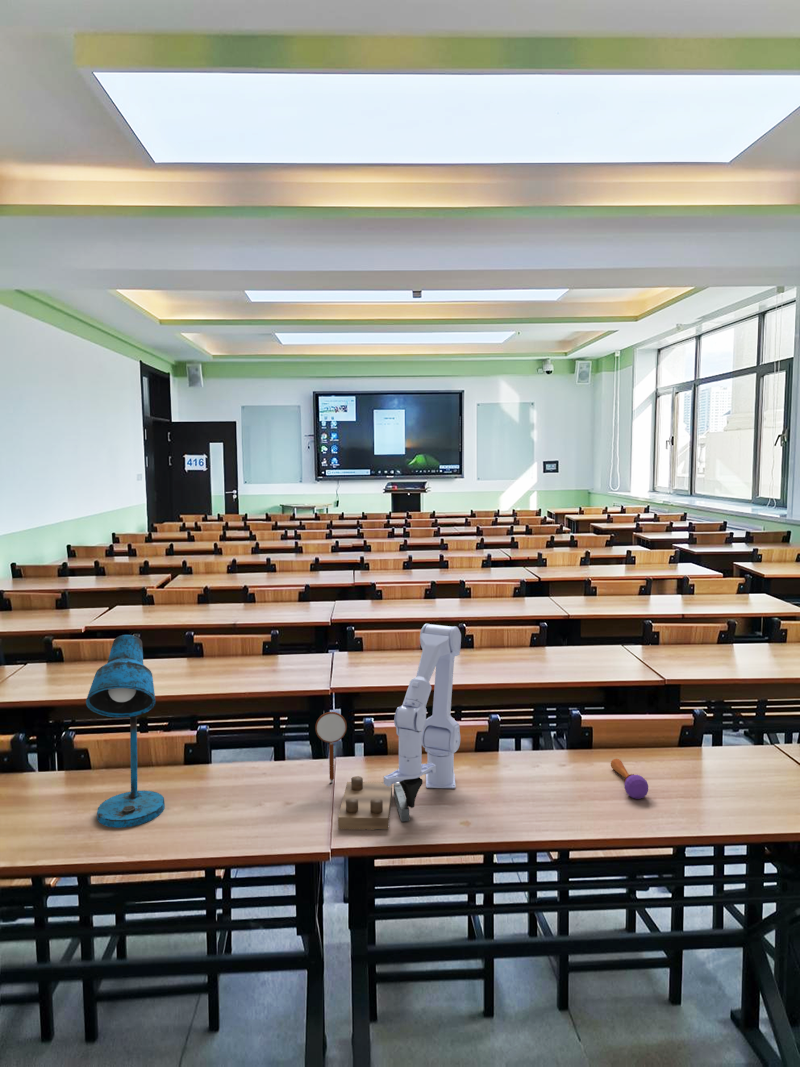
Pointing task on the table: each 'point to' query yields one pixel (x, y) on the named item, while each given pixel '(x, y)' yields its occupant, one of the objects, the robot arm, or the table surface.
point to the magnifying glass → (331, 733)
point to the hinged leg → (401, 802)
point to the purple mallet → (631, 781)
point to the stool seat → (365, 805)
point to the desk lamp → (130, 694)
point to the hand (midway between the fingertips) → (410, 806)
